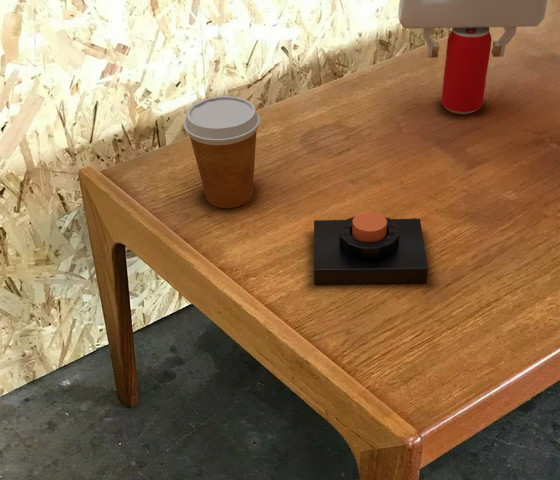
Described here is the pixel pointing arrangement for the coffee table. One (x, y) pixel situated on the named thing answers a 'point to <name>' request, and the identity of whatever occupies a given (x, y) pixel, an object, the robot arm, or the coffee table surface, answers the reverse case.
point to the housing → (369, 254)
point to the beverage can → (466, 69)
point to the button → (369, 227)
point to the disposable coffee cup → (224, 147)
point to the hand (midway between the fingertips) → (464, 55)
